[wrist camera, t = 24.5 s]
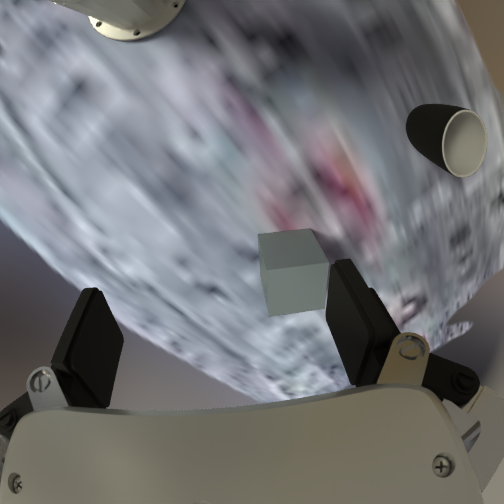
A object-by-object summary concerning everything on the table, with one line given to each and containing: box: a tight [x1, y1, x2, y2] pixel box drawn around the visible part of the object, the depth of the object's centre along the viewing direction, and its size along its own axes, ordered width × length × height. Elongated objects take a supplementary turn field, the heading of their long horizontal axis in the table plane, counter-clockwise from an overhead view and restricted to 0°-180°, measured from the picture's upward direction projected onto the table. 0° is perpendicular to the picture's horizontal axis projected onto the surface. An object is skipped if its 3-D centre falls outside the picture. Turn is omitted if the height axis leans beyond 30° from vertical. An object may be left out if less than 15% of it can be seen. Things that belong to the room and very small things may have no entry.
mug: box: [406, 104, 487, 178], centre depth 31 cm, size 12×9×10 cm
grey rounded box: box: [258, 229, 329, 317], centre depth 41 cm, size 8×8×9 cm
